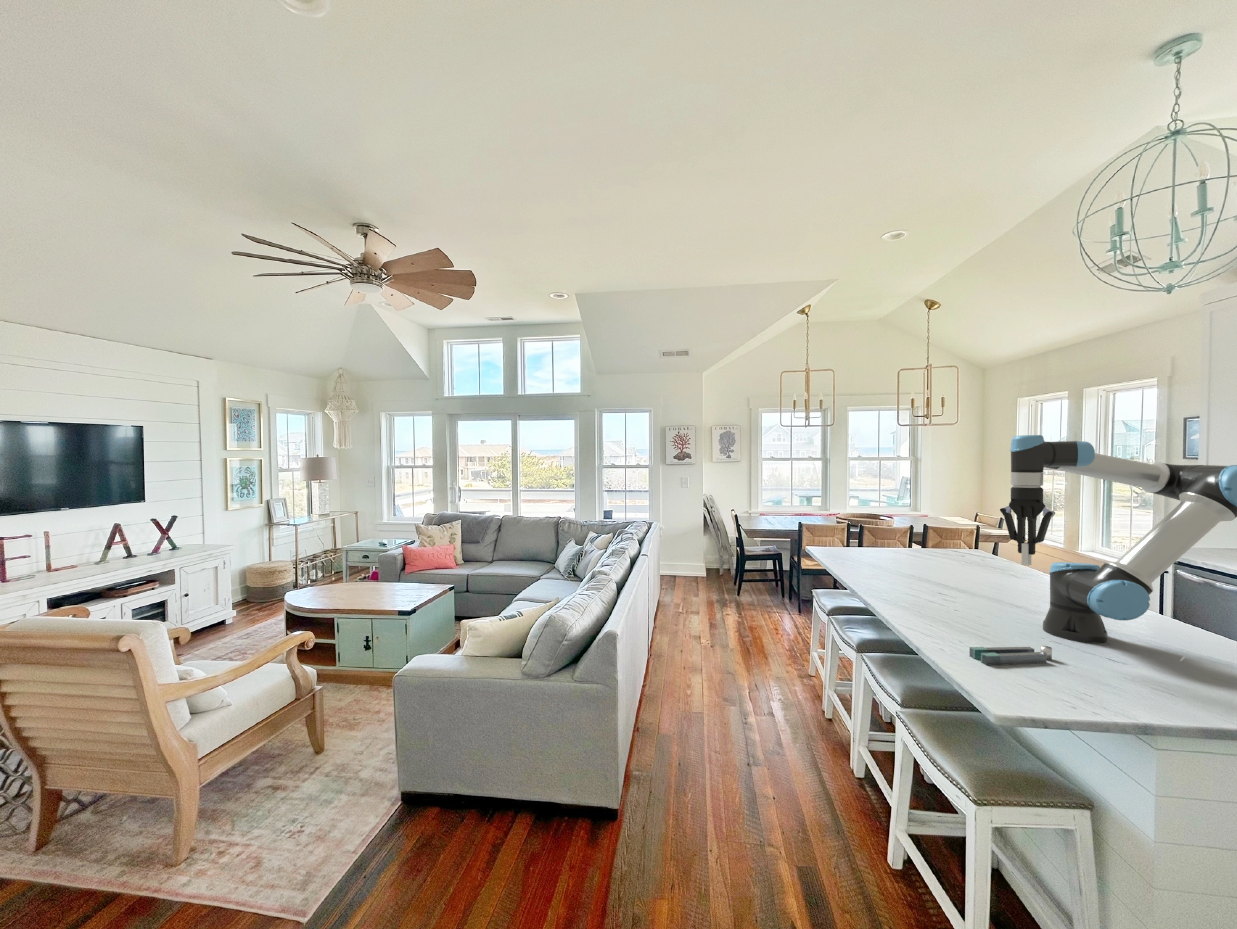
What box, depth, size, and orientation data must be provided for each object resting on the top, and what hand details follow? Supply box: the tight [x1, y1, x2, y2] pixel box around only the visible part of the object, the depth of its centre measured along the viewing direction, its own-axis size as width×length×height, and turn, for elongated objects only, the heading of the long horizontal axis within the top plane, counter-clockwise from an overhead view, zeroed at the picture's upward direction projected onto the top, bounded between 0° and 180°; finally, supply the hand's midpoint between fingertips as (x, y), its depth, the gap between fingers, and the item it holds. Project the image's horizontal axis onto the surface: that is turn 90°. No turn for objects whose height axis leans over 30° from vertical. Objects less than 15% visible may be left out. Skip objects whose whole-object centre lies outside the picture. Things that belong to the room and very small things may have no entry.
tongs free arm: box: [980, 651, 1048, 666], centre depth 134 cm, size 18×2×3 cm, turn 94°
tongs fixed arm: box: [969, 645, 1053, 661], centre depth 137 cm, size 21×4×3 cm, turn 91°
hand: (1026, 564), depth 146 cm, fingers closed
